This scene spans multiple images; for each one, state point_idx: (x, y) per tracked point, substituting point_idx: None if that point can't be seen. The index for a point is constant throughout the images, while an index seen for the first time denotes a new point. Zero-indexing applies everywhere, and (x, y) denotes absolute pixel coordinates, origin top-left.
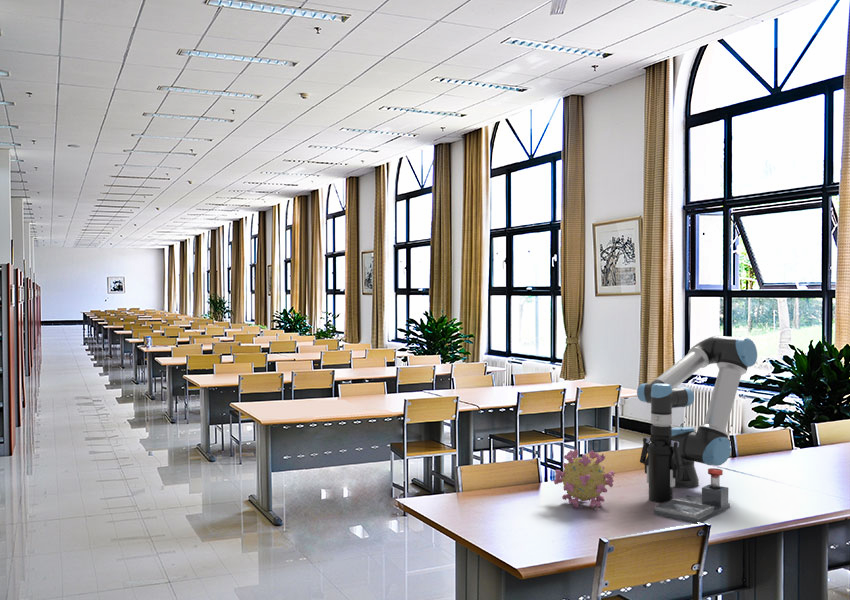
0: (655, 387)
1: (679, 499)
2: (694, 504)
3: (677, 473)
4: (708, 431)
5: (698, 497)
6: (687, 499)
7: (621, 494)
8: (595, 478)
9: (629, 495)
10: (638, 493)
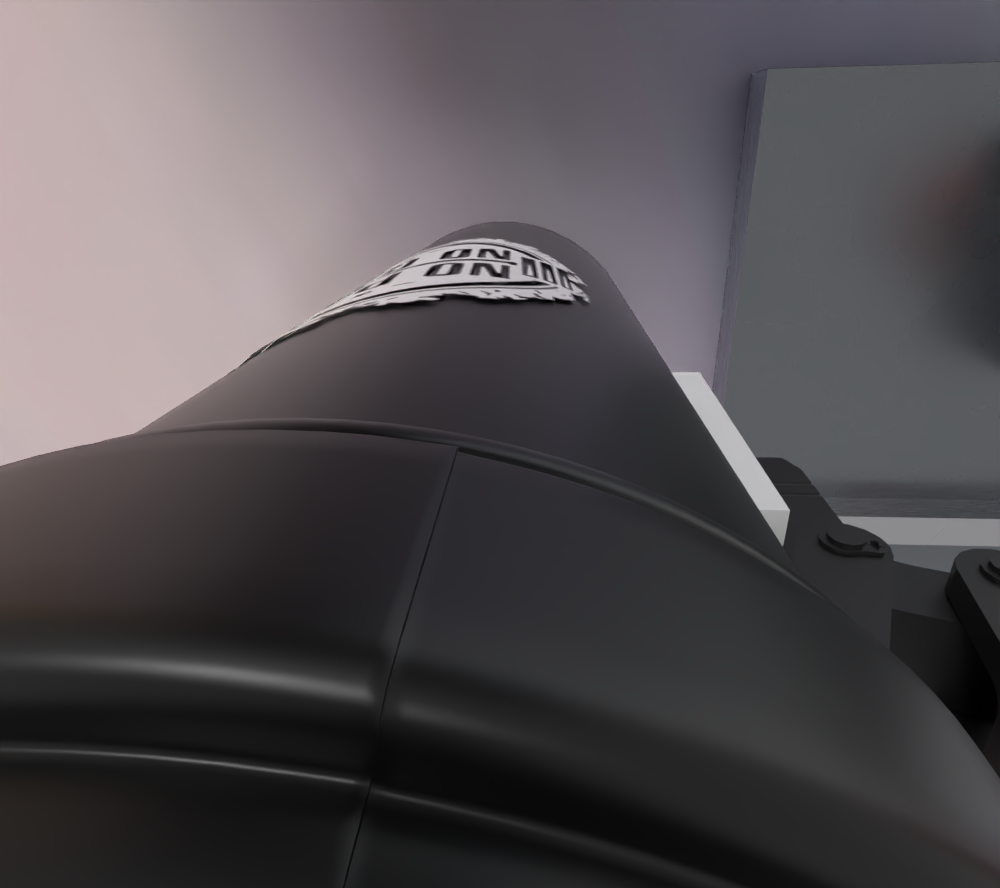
0: None
1: (739, 361)
2: (980, 539)
3: (823, 498)
4: None
5: (943, 68)
6: (825, 292)
7: (105, 423)
8: None
9: (178, 404)
10: (174, 254)
